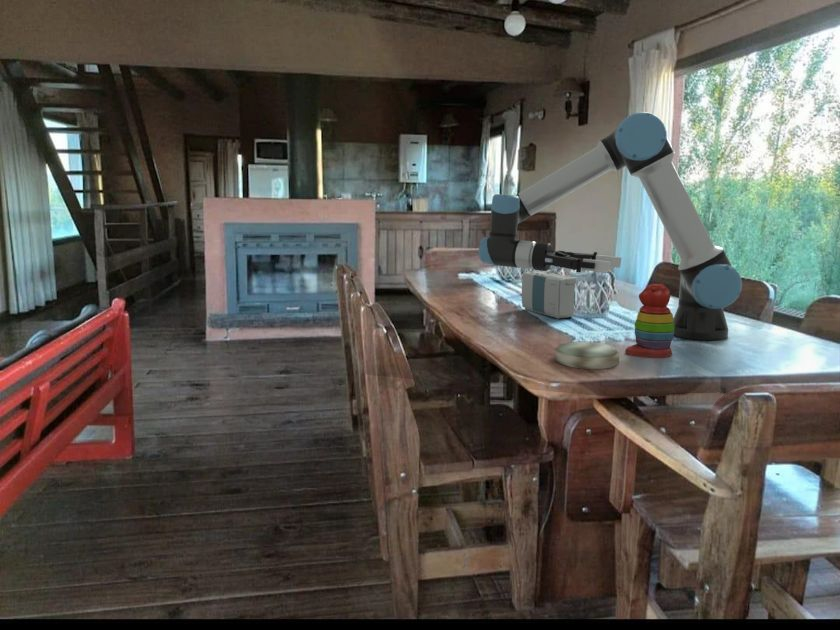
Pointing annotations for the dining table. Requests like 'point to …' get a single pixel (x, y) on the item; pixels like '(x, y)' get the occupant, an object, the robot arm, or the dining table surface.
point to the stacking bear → (653, 324)
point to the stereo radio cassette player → (548, 293)
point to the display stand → (587, 355)
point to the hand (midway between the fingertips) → (615, 264)
